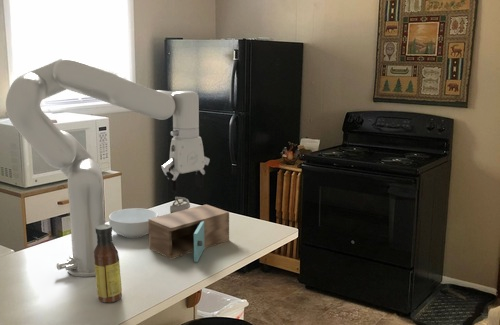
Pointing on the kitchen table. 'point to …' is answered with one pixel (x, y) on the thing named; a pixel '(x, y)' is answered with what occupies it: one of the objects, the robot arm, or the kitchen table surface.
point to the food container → (179, 204)
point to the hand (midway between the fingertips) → (186, 189)
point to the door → (199, 241)
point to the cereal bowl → (131, 221)
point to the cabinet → (187, 230)
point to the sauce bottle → (107, 266)
